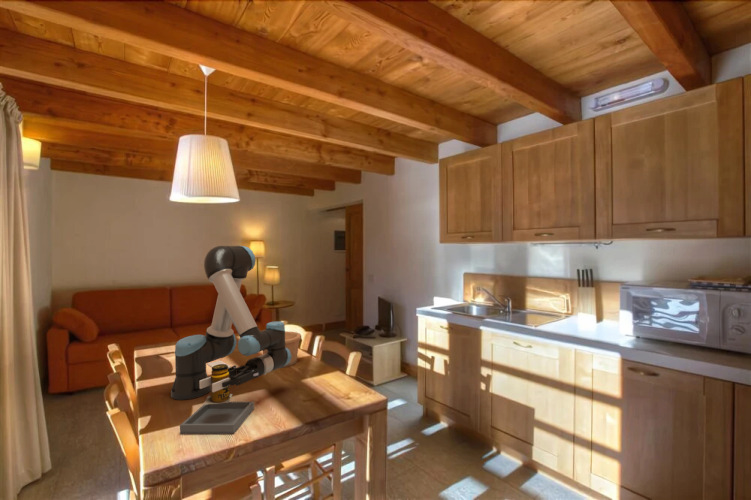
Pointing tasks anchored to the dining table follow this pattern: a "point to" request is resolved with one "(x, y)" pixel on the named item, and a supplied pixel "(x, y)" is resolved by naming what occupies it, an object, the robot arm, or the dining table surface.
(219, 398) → the condiment
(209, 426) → the tray
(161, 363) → the dining table surface
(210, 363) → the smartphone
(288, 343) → the pottery
